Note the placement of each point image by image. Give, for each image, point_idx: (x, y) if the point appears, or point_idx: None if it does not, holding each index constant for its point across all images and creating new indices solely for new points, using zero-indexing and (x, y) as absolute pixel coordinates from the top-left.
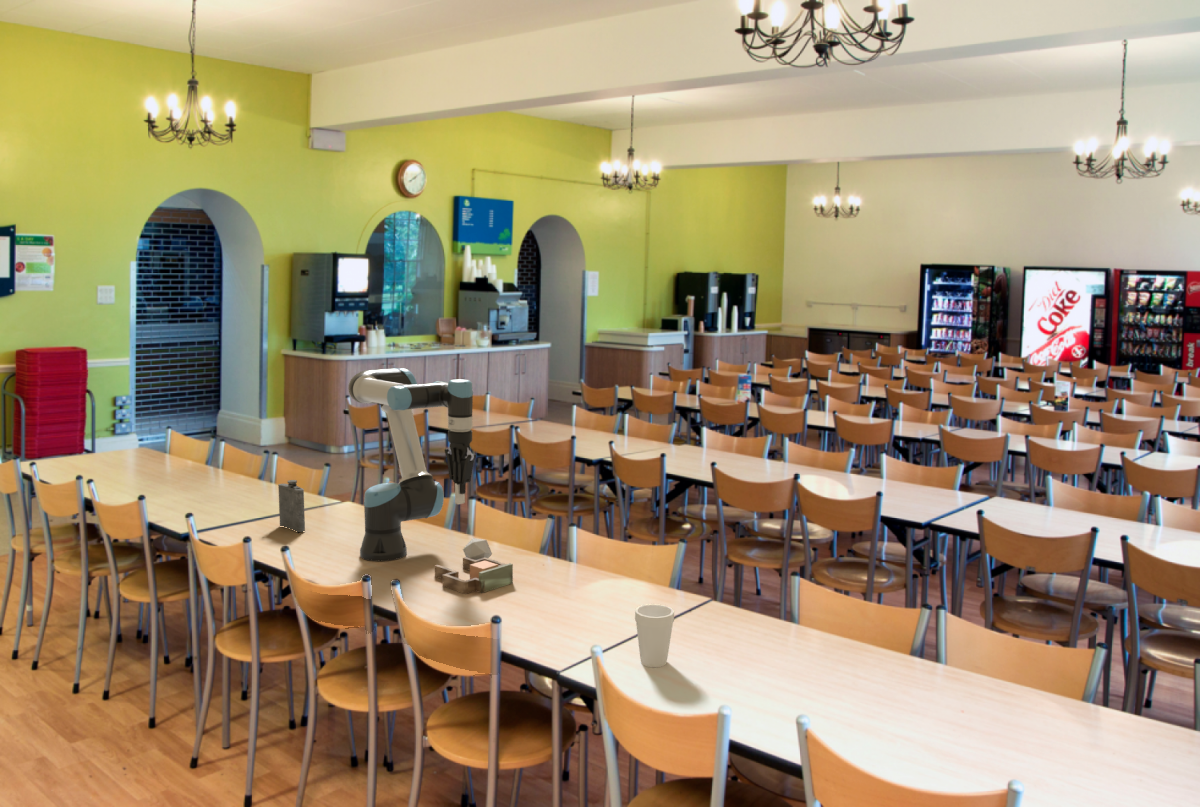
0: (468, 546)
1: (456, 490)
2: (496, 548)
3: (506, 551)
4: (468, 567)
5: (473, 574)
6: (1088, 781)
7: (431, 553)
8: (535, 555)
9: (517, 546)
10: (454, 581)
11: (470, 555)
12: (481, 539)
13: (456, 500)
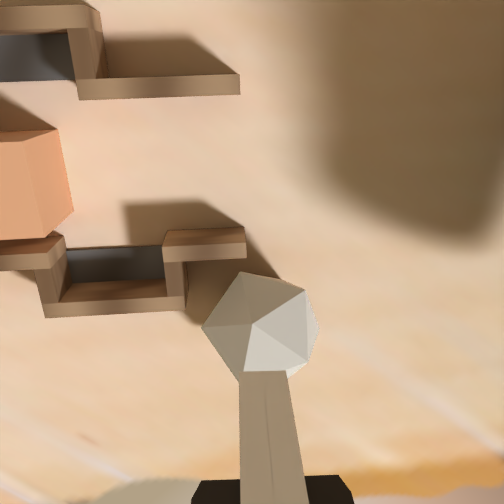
0: (274, 305)
1: (275, 494)
2: (341, 433)
3: None
4: (209, 232)
5: (14, 136)
6: None
7: (484, 250)
8: (189, 472)
9: None
10: None
11: (241, 279)
12: None
13: (265, 396)
